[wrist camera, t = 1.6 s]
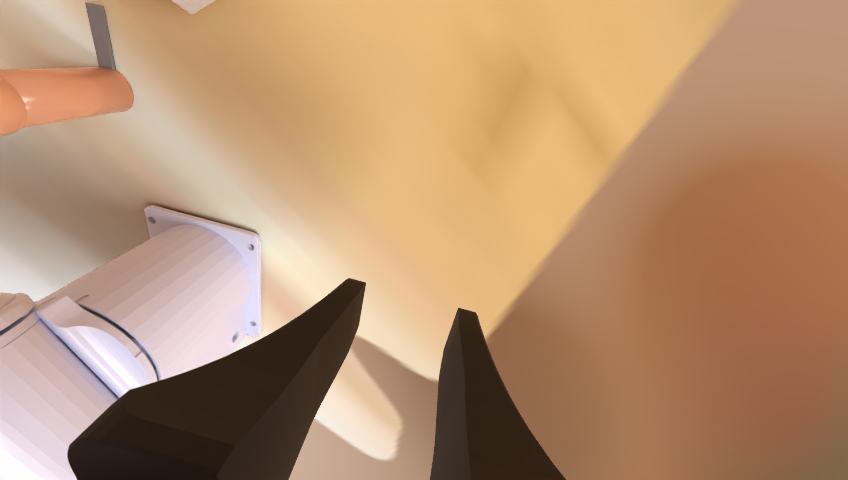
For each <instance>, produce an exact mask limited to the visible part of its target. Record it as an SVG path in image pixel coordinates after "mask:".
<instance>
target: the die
mask: <svg viewBox="0 0 848 480" xmlns="http://www.w3.org/2000/svg"><path fill="white" fill-rule="evenodd" d="M172 1H173V2H174V3H176V4H177V5H179V6H180V7H181V8H183V9H184V10H186V11H187V12H188V13H190V14H191V15H192V14H194V13H196V12H197V11H199V10H201V9H202V8H204V7H206V6H208V5H209V4H211V3H213V2H214V1H216V0H172Z"/></svg>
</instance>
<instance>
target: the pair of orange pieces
mask: <svg viewBox="0 0 848 480" xmlns="http://www.w3.org/2000/svg"><path fill="white" fill-rule="evenodd" d="M85 3H86V8H87V12H88V17H89V21H90V26H91V31H92V35H93V40H94V45H95V49H96V54H97V58H98V63H99V67H72V68H43V69H14V70H0V136H4V135H8V134H11V133H14V132H16V131H17V130H19V129H21V128H22V127H28V126H34V125H40V124H47V123H53V122H59V121H65V120H71V119H78V118H84V117H90V116H96V115H102V114H109V113H115V112H121V111H126V110H128V109H130V108H131V106H132V104H133V92H132V89H131V87H130V85H129V83H128V81H127V80H126V79H125V77H124V76H123V75H122V74H121V73H119V72H118V71H117V70H116V68H115V62H114V57H113V52H112V47H111V42H110V37H109V32H108V27H107V22H106V16H105V11H104V7H103V6H100V5H96V4H92V3H87V2H85Z"/></svg>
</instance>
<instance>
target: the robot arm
mask: <svg viewBox="0 0 848 480" xmlns="http://www.w3.org/2000/svg"><path fill="white" fill-rule="evenodd" d="M144 213H145V218H146V223H147V228H148V234H149V240H147V241H145V242H144V243H142V244H140V245H138V246H136V247H135V248H133V249H131V250H129V251H127V252H126V253H124V254H122V255H120V256H118V257H117V258H115V259H113V260H111V261H109V262H108V263H106V264H104V265H102V266H101V267H99V268H97V269H95V270H93V271H92V272H90V273H88V274H86V275H84V276H83V277H81V278H79V279H77V280H75V281H74V282H72V283H70V284H68V285H67V286H65V287H63V288H61V289H59V290H58V291H56V292H54V293H52V294H50V295H49V296H47V297H45V298H43V299H41V300H40V301H36V302H33V301H32V299H31V298H30V297H29V296H28V295H27V294H24V293H17V294H10V293H0V480H288V479H289V477H290V474H291V472H292V470H293V467H294V465H295V462H296V460H297V457H298V455H299V452H300V450H301V447H302V445H303V443H304V440H305V438H306V435H307V433H308V431H309V428H310V426H311V424H312V421H313V419H314V417H315V415H316V413H317V411H318V409H319V407H320V405H321V403H322V401H323V399H324V397H325V396H326V394H327V392H328V390H329V388H330V386H331V384H332V382H333V380H334V379H335V377H336V375H337V373H338V371H339V369H340V367H341V365H342V363H343V362H344V360H345V358H346V356H347V354H348V352H349V349H350V347H351V344H352V342H353V339H354V337H355V334H356V332H357V329H358V326H359V321H360V315H361V309H362V303H363V297H364V291H365V286H366V283H365V282H361V281H358V280H354V279H350V278H349V279H347V280H345V281H344V282H343V283H342V284H340V285H339V286H338V287H337V288H336V289H335V290H333V291H332V292H331V293H330V294H328V295H327V296H326V297H324V298H323V299H322V300H321V301H319V302H318V303H317V304H315V305H314V306H312V307H311V308H310V309H308V310H307V311H306V312H304V313H303V314H301V315H300V316H298V317H297V318H295V319H294V320H292V321H290V322H289V323H287V324H286V325H284V326H283V327H281V328H279V329H278V330H276V331H274V332H273V333H271V334H269V335H267V336H265V337H264V338H262V339H260V340H258V341H256V342H254V343H252V344H250V345H248V346H246V347H244V348H242V349H240V350H238V351H236V352H234V353H232V351H233V350H234V349H235V348H236V347H237V345H238V344H239V343H240V342H241V341H242V340H243V338H244V337H245V336H246V335H248V336H252V337H258V336H259V335H260V334H261V332H262V311H261V241H260V237H259V236H258V235H257V234H256V233H254V232H251V231H247V230H243V229H240V228H236V227H232V226H229V225H225V224H221V223H218V222H214V221H210V220H206V219H203V218H199V217H195V216H192V215H188V214H184V213H180V212H177V211H173V210H169V209H166V208H162V207H158V206H155V205H150V206H148V207H146V208H145V209H144ZM154 219H155V220H154ZM251 244H252V245H253V246H254V247H252V246H251ZM430 480H566V479H565V478H564V477H563V475H562V474H561V473H560V472H559V470H558V469H557V468H556V467H555V465H554V464H553V463H552V461H551V460H550V459H549V457H548V456H547V454H546V453H545V452H544V450H543V449H542V447H541V446H540V444H539V443H538V441H537V440H536V439H535V437H534V436H533V434H532V433H531V431H530V430H529V428H528V427H527V425H526V423H525V422H524V420H523V418H522V417H521V415H520V413H519V412H518V410H517V408H516V407H515V405H514V403H513V401H512V399H511V397H510V395H509V394H508V391H507V390H506V388H505V385H504V383H503V381H502V379H501V377H500V375H499V373H498V371H497V368H496V366H495V364H494V362H493V359H492V356H491V354H490V352H489V349H488V346H487V344H486V341H485V338H484V335H483V332H482V329H481V326H480V323H479V319H478V316H477V314H476V313H475V312H472V311H468V310H464V309H461V308H458V310H457V313H456V316H455V319H454V322H453V325H452V328H451V330H450V333H449V336H448V339H447V342H446V345H445V348H444V352H443V357H442V363H441V368H440V374H439V385H438V401H437V418H436V435H435V447H434V456H433V463H432V469H431V476H430Z"/></svg>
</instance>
